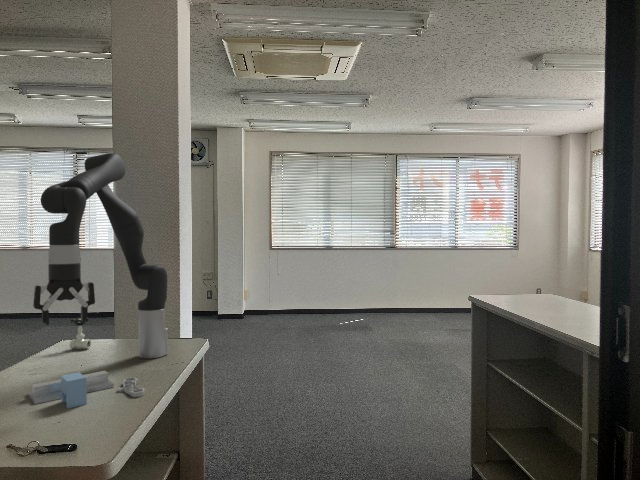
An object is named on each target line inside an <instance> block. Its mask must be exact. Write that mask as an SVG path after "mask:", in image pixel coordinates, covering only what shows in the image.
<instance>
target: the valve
mask: <svg viewBox="0 0 640 480" xmlns="http://www.w3.org/2000/svg"><path fill="white" fill-rule="evenodd" d="M89 321H90V317H87V319H85V321H81V317H76V318H71V319H70V323H74V325H76V326H77V334H76V335H75V338H76V339H71V340H70V342H69V348H70V349H71V350H83V349H84V350H89V349H90V348H91V345H92V341H91V339H89V338H85V334H84V333H83V331H84V329H83V328H84V327H82V326H83V325H85V324H86V322H89Z"/></svg>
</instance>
